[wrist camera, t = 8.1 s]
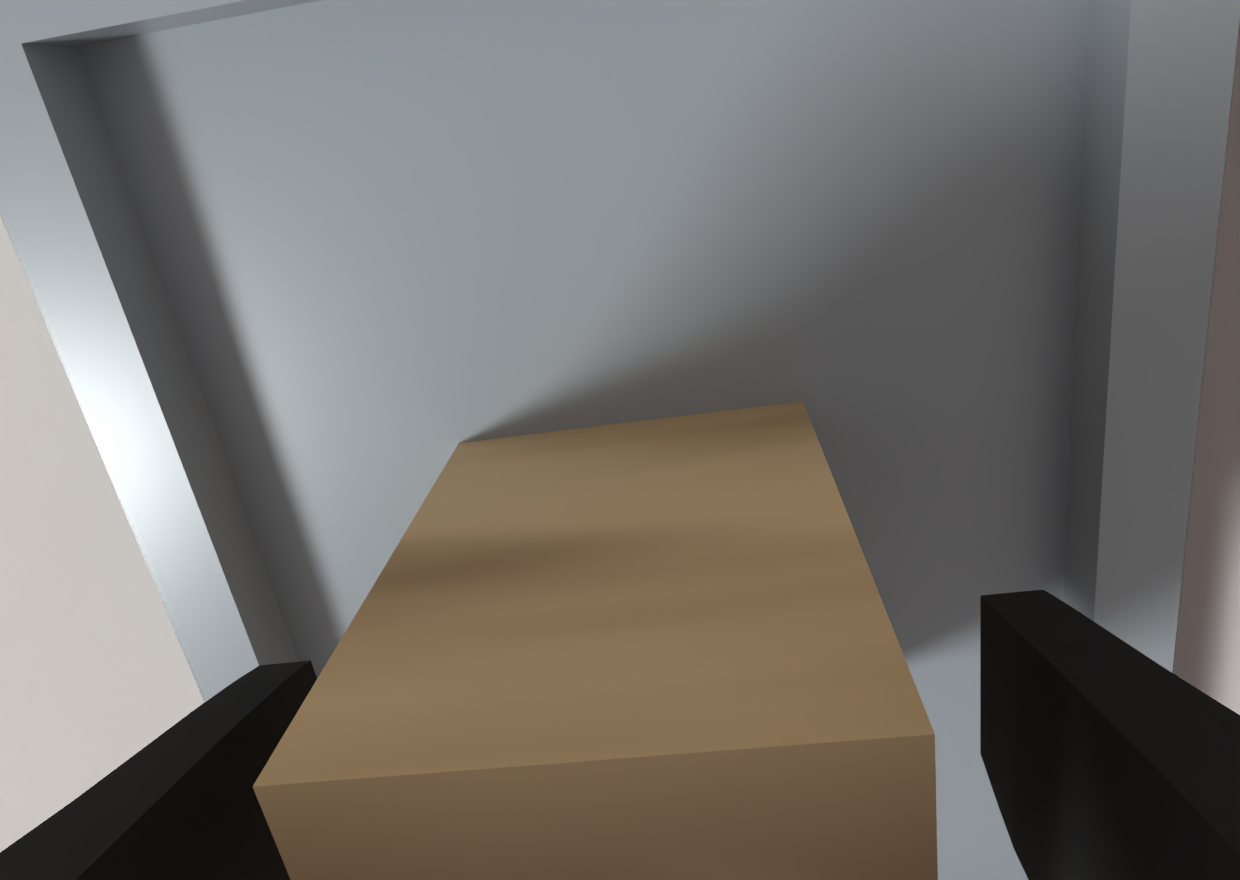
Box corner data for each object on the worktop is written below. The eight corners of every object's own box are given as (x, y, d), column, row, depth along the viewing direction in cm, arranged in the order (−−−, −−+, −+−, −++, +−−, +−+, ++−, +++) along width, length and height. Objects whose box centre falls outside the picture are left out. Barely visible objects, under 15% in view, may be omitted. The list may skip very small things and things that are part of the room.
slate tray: (1093, 930, 15) (1136, 1017, 13) (378, 968, 16) (350, 1050, 15) (1178, -271, 9) (1277, -338, 7) (-2, -30, 10) (-110, -47, 9)
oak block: (825, 688, 13) (944, 1169, 7) (525, 714, 13) (414, 1179, 8) (802, 401, 11) (935, 734, 5) (458, 442, 11) (253, 786, 6)
